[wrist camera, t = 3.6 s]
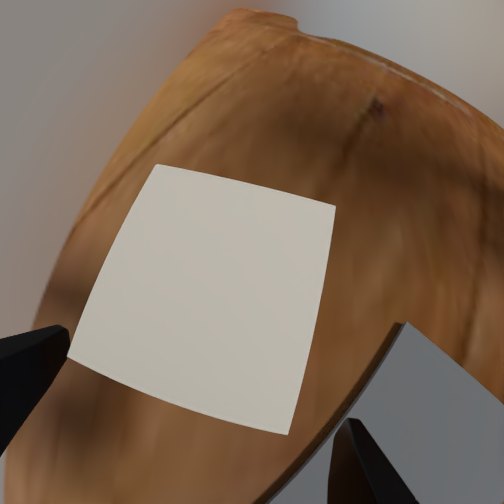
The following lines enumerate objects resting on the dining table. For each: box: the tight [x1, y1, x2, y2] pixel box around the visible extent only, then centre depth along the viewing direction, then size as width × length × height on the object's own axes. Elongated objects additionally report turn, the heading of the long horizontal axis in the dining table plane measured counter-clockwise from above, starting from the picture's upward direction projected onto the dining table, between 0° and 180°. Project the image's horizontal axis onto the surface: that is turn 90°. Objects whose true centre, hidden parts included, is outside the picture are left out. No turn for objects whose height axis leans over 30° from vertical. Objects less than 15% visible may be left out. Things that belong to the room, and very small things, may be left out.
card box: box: [67, 164, 336, 435], centre depth 12 cm, size 5×4×13 cm
